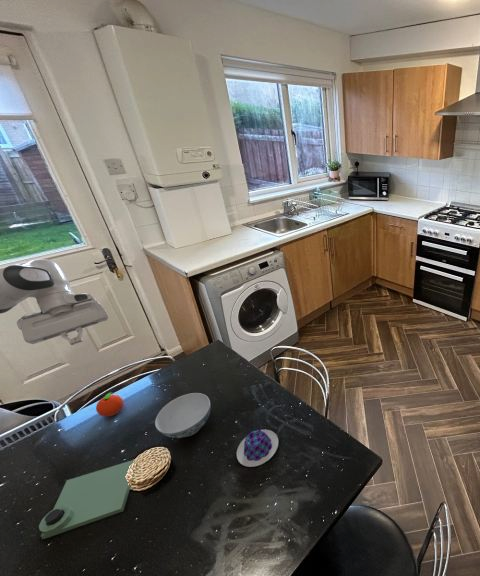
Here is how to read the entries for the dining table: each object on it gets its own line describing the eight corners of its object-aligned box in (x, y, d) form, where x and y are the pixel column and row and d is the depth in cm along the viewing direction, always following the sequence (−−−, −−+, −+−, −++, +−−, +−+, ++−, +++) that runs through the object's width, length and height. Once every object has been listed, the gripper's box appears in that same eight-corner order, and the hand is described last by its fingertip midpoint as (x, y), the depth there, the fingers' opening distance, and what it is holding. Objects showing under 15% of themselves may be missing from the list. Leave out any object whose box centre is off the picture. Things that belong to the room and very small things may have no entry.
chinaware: (214, 439, 97) (207, 423, 93) (159, 456, 92) (149, 440, 88) (217, 403, 109) (211, 387, 105) (168, 416, 104) (160, 400, 101)
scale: (40, 541, 74) (33, 535, 72) (67, 483, 85) (62, 477, 84) (123, 512, 79) (118, 506, 78) (137, 461, 91) (133, 455, 89)
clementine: (107, 405, 108) (98, 390, 105) (130, 399, 111) (122, 385, 107) (98, 423, 102) (87, 409, 98) (123, 417, 104) (114, 403, 101)
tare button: (45, 527, 74) (42, 523, 73) (51, 514, 76) (48, 511, 76) (60, 522, 75) (57, 518, 74) (65, 510, 77) (62, 506, 77)
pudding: (235, 440, 97) (231, 430, 94) (274, 425, 101) (272, 414, 99) (239, 475, 87) (234, 464, 85) (282, 456, 92) (279, 446, 90)
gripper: (9, 315, 93) (28, 356, 92) (96, 292, 106) (113, 327, 104) (19, 321, 98) (36, 360, 97) (100, 297, 111) (117, 332, 110)
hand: (77, 343), depth 101 cm, fingers closed
